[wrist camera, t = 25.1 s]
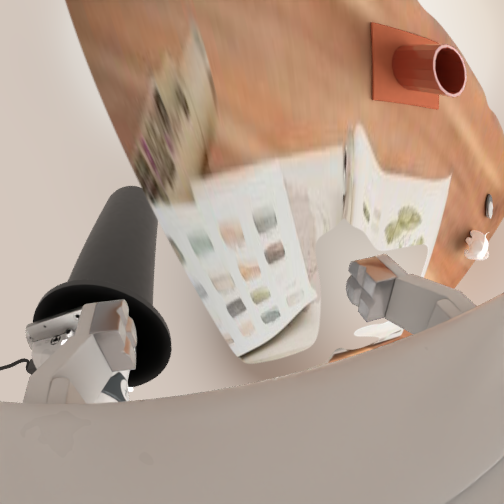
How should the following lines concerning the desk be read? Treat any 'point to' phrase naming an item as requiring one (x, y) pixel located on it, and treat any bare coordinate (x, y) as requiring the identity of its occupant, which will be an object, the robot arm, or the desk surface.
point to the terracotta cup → (430, 69)
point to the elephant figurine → (477, 246)
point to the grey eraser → (489, 206)
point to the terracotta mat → (382, 73)
